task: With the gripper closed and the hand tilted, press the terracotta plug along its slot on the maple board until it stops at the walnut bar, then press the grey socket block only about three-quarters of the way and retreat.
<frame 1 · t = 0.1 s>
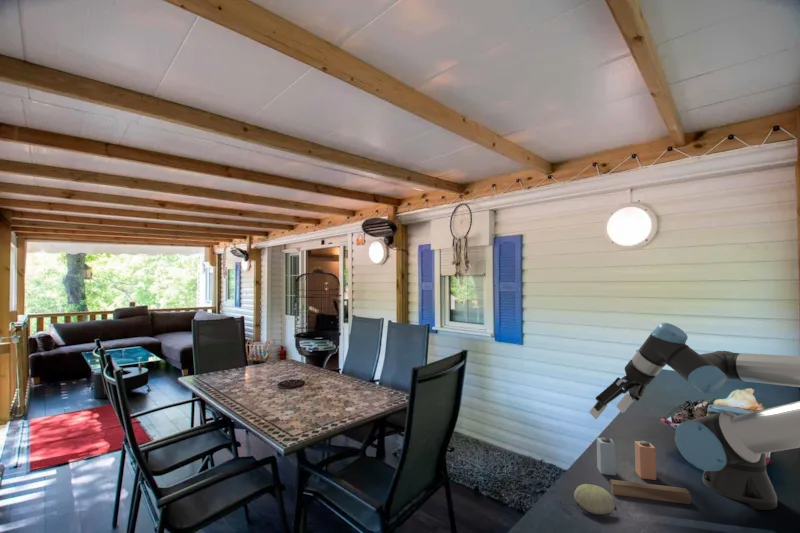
hand: (606, 412, 122), 15 cm above the table, tool tilted 35°, fingers open, 13 cm apart
grey socket block: (605, 455, 111), point 6 cm above the table, slide at 0.0 cm
sea urchin shell: (594, 507, 95), on the table
terracotta plug: (645, 459, 108), point 6 cm above the table, slide at 0.0 cm
maple board: (639, 487, 104), on the table
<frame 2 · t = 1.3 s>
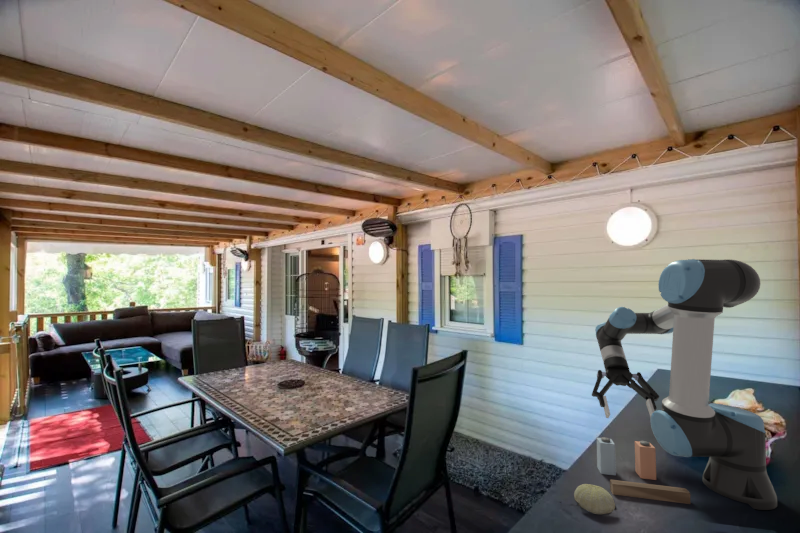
hand: (631, 418, 119), 14 cm above the table, tool tilted 45°, fingers open, 13 cm apart
nothing on the table moved.
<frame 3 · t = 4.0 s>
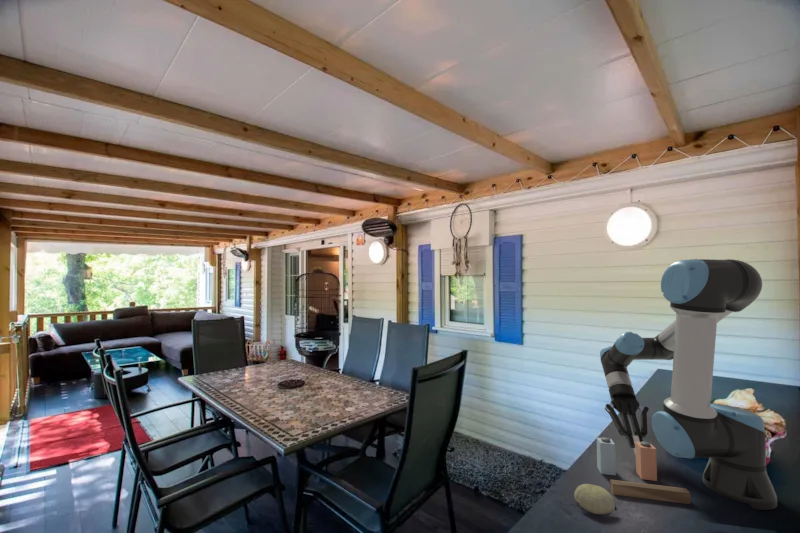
hand: (640, 458, 111), 5 cm above the table, tool tilted 45°, fingers closed
terracotta plug: (645, 459, 108), point 6 cm above the table, slide at 0.5 cm, touching gripper
everything else where it was.
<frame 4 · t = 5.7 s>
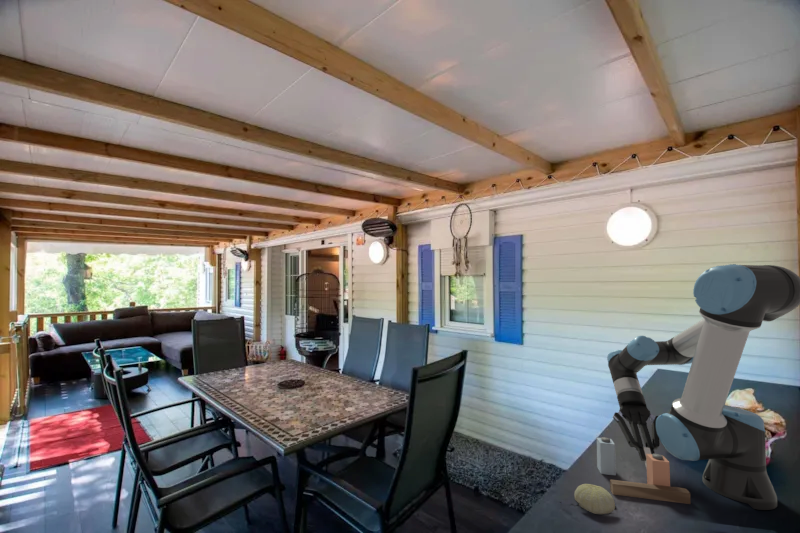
hand: (652, 473, 103), 5 cm above the table, tool tilted 45°, fingers closed
terracotta plug: (658, 473, 100), point 6 cm above the table, slide at 8.7 cm, touching gripper
everything else where it was.
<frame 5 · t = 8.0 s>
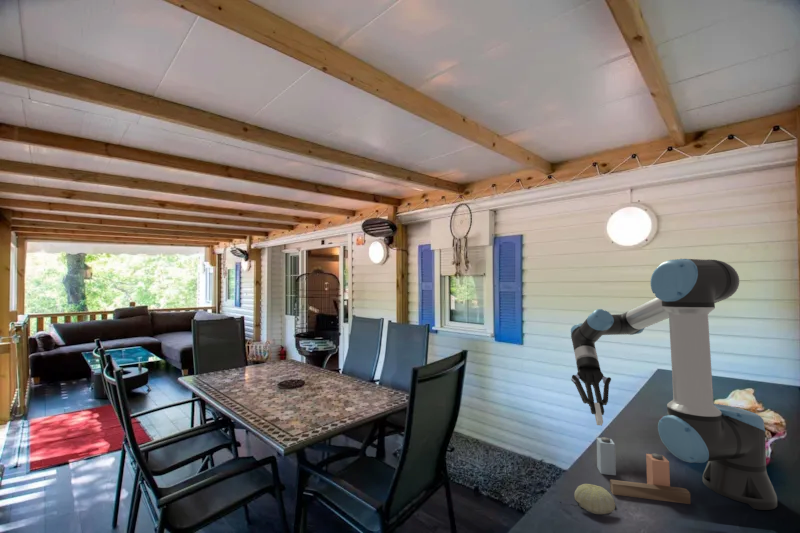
hand: (600, 423, 120), 12 cm above the table, tool tilted 45°, fingers closed
terracotta plug: (657, 473, 100), point 6 cm above the table, slide at 8.5 cm
everything else where it was.
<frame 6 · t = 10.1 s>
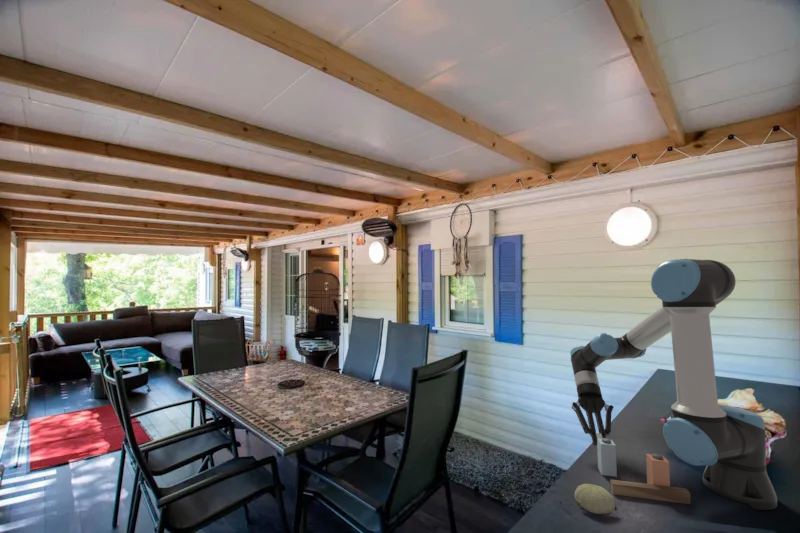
hand: (602, 456, 113), 5 cm above the table, tool tilted 45°, fingers closed
grey socket block: (606, 456, 110), point 6 cm above the table, slide at 0.7 cm, touching gripper
everything else where it was.
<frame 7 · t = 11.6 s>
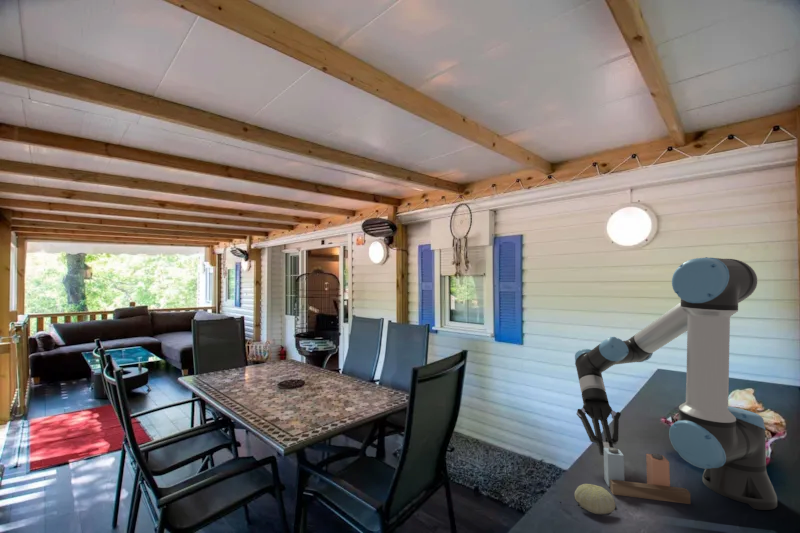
hand: (610, 466, 107), 5 cm above the table, tool tilted 45°, fingers closed
grey socket block: (613, 466, 104), point 6 cm above the table, slide at 7.4 cm, touching gripper
everything else where it was.
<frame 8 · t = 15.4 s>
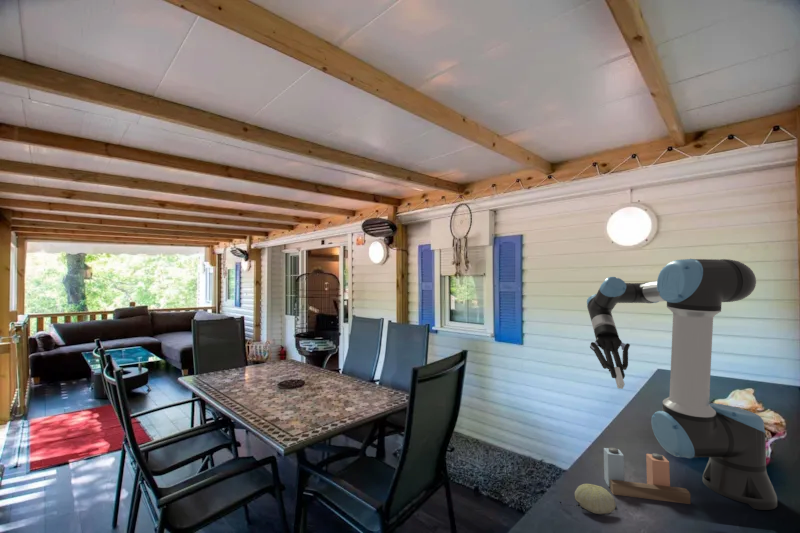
hand: (621, 386, 121), 24 cm above the table, tool tilted 45°, fingers closed
grey socket block: (613, 466, 104), point 6 cm above the table, slide at 7.4 cm
everything else where it was.
at the end: terracotta plug slide at 8.5 cm; grey socket block slide at 7.4 cm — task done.
